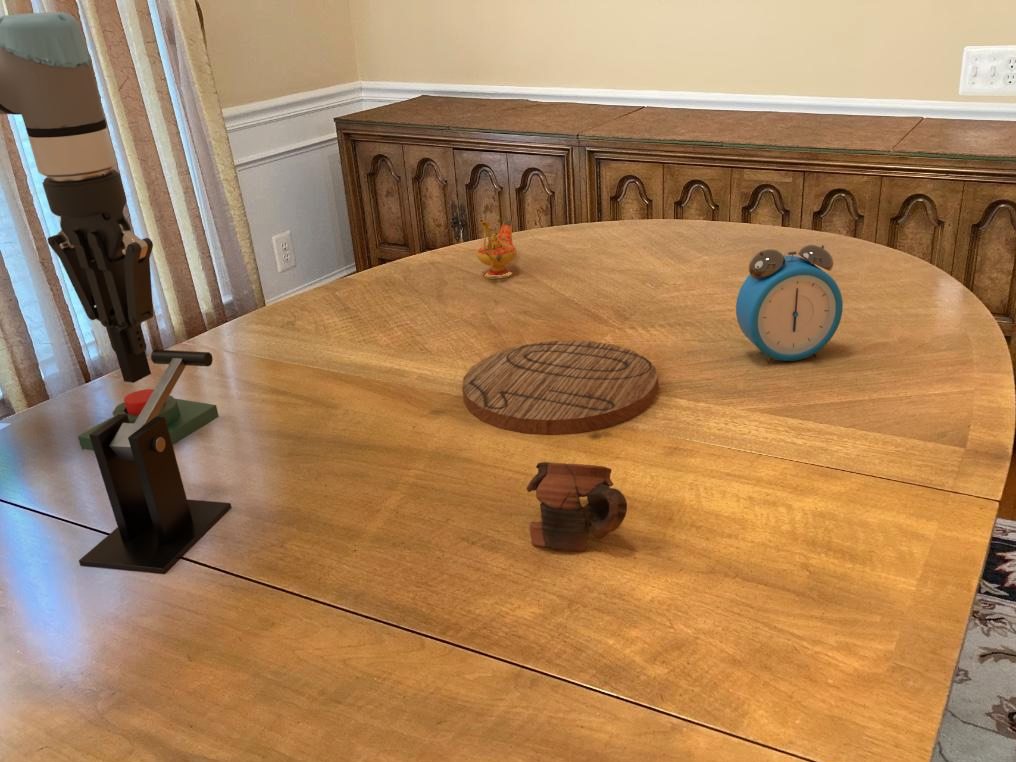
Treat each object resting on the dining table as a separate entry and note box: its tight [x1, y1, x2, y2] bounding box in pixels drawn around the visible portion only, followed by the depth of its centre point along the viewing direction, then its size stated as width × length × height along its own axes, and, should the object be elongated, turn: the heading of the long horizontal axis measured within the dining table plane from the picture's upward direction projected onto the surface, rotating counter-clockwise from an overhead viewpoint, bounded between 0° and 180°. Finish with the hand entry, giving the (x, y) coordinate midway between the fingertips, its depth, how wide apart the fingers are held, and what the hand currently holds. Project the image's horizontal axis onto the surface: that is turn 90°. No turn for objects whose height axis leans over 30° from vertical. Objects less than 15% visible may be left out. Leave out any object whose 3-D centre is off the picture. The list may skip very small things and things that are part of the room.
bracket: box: [78, 414, 232, 575], centre depth 94 cm, size 12×9×13 cm
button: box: [123, 388, 164, 415], centre depth 116 cm, size 4×4×2 cm
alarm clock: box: [735, 244, 844, 365], centre depth 130 cm, size 13×6×15 cm, turn 103°
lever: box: [109, 349, 214, 462], centre depth 95 cm, size 13×6×2 cm, turn 169°
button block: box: [77, 394, 220, 451], centre depth 117 cm, size 10×12×4 cm
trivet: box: [461, 339, 659, 436], centre depth 126 cm, size 25×25×2 cm
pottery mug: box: [526, 461, 628, 552], centre depth 95 cm, size 12×10×8 cm
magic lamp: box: [476, 220, 517, 280], centre depth 169 cm, size 7×18×11 cm, turn 171°
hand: (137, 377), depth 114 cm, fingers closed
